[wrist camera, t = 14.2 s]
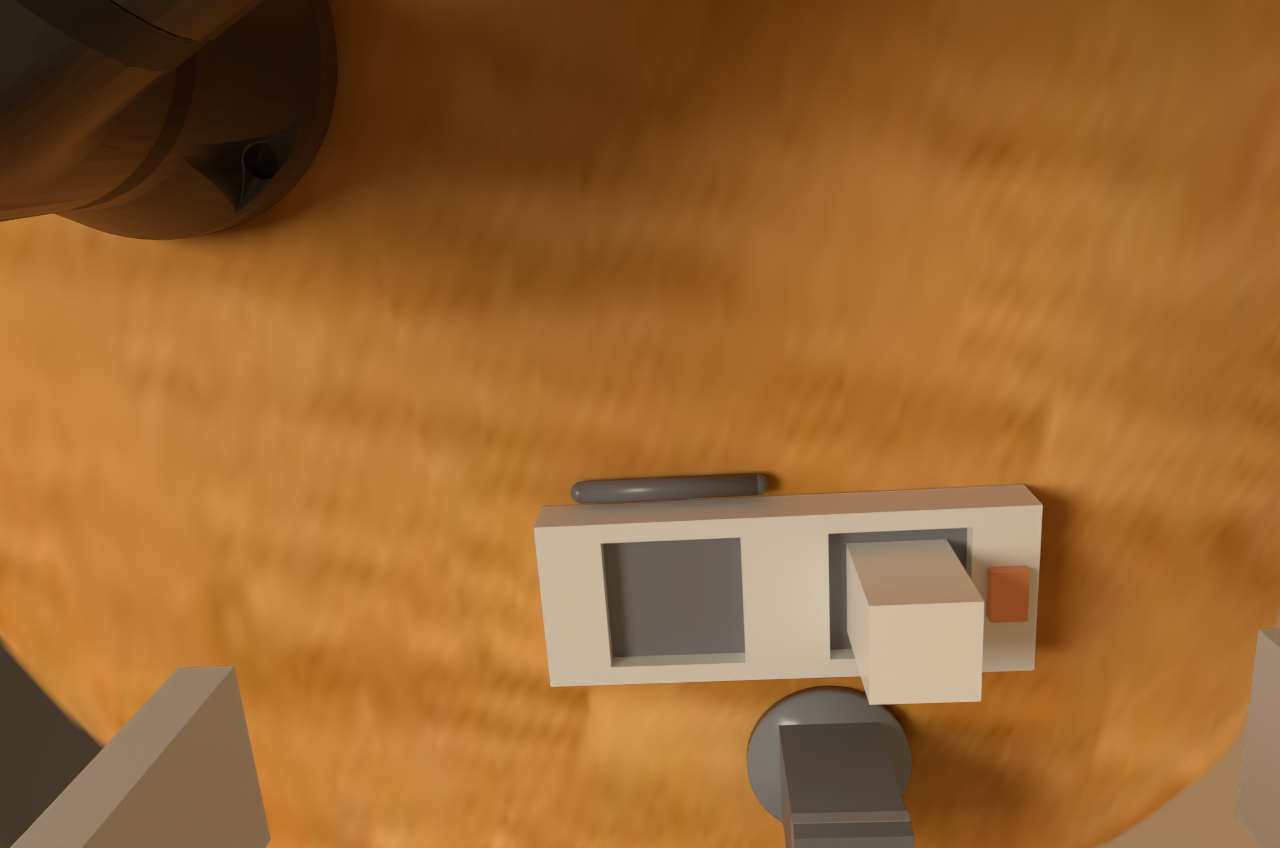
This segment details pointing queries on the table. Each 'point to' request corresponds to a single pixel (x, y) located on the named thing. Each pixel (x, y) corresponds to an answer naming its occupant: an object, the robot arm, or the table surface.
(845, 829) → the block
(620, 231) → the table surface
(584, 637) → the strip
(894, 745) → the grey disc
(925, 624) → the white plug
